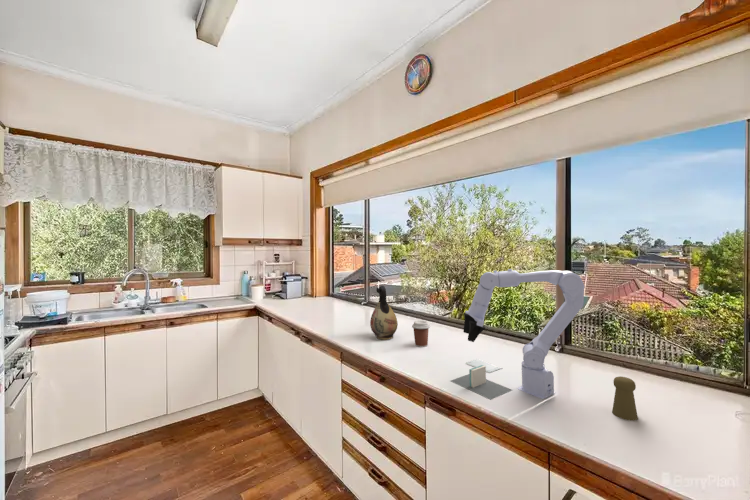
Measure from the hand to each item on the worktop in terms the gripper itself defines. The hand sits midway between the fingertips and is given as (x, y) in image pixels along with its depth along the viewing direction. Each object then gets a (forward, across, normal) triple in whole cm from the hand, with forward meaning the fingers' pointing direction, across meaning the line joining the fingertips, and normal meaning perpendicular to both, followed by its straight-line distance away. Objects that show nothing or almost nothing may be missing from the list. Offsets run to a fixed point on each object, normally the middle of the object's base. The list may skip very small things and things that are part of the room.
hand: (468, 336), depth 119 cm
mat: (+15, +6, +8) cm, 18 cm away
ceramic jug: (+33, -54, -25) cm, 69 cm away
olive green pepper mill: (+1, +24, +43) cm, 49 cm away
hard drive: (+16, -12, +15) cm, 25 cm away
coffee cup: (+26, -42, -7) cm, 50 cm away
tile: (+14, +5, +7) cm, 17 cm away
